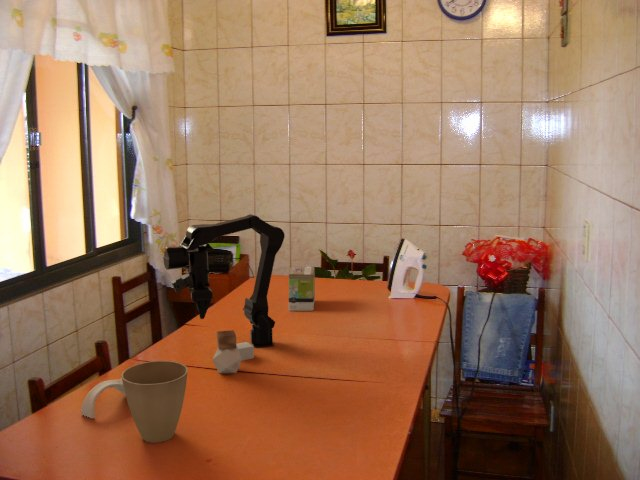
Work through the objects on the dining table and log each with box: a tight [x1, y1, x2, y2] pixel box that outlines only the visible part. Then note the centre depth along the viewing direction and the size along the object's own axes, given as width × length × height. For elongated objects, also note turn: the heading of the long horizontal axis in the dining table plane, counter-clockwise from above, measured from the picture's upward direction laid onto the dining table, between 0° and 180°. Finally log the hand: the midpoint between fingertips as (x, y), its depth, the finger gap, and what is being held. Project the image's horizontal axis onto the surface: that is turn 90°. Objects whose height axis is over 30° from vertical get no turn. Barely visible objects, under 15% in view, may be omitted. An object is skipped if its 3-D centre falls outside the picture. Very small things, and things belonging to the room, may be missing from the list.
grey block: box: [236, 341, 255, 361], centre depth 217 cm, size 5×5×4 cm
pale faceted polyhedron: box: [212, 345, 243, 374], centre depth 204 cm, size 8×9×10 cm
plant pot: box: [121, 360, 189, 444], centre depth 162 cm, size 15×15×16 cm
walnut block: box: [216, 329, 237, 350], centre depth 203 cm, size 5×5×4 cm
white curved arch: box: [80, 378, 126, 420], centre depth 183 cm, size 24×12×7 cm, turn 147°
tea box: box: [288, 266, 316, 312], centre depth 274 cm, size 15×10×15 cm
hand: (200, 314), depth 217 cm, fingers open, 9 cm apart
